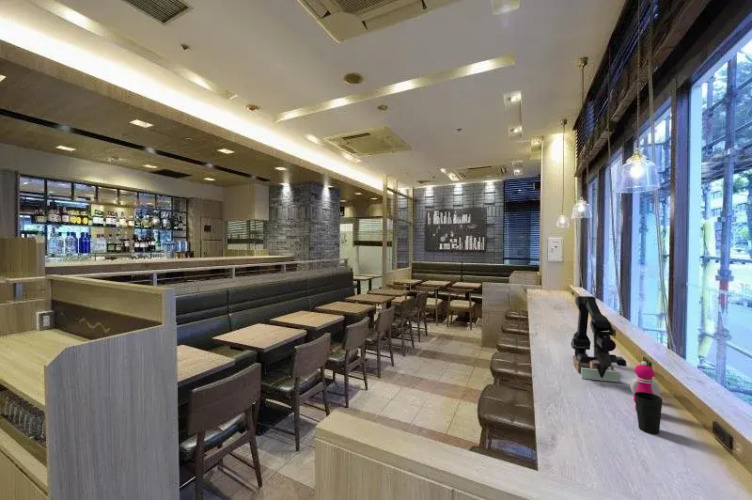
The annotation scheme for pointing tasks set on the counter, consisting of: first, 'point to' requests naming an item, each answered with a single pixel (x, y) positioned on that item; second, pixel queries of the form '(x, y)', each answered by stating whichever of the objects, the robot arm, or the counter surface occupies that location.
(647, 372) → the pepper mill
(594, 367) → the block
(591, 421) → the counter surface
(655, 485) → the counter surface
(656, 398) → the cup
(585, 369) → the tray
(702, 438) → the counter surface
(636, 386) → the donut
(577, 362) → the sleeve
